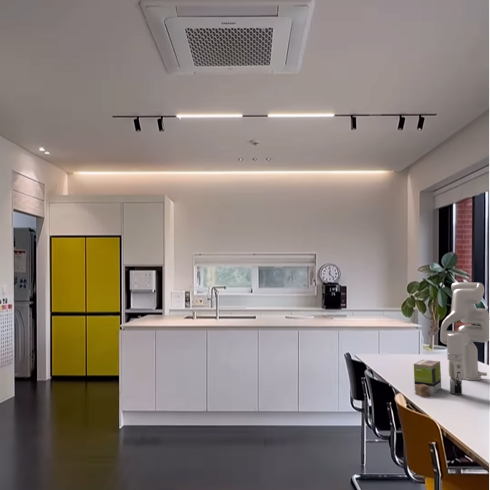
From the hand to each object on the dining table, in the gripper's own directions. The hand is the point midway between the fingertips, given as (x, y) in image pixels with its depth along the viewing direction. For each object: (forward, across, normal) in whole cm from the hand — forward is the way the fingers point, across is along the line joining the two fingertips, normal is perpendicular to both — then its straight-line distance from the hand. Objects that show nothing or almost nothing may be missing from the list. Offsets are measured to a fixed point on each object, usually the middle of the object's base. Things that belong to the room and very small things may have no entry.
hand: (456, 391), depth 242 cm
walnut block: (+1, -4, +18) cm, 19 cm away
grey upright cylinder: (+1, 0, 0) cm, 1 cm away
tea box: (+1, +8, +12) cm, 15 cm away
